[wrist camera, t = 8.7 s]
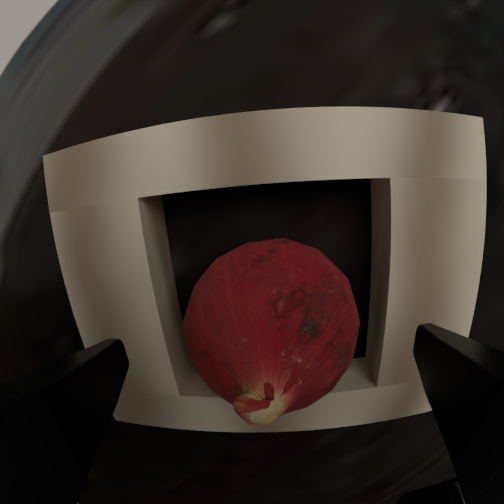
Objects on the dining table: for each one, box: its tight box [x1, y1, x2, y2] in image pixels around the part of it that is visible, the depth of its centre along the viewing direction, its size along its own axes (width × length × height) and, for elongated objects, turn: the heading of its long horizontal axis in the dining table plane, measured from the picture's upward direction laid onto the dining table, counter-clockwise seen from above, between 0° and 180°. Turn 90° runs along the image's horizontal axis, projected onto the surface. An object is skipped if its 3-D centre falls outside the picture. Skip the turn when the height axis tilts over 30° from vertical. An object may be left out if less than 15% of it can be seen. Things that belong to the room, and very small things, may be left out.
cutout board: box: [43, 107, 486, 432], centre depth 13 cm, size 18×14×2 cm
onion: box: [182, 238, 360, 426], centre depth 10 cm, size 6×6×8 cm
